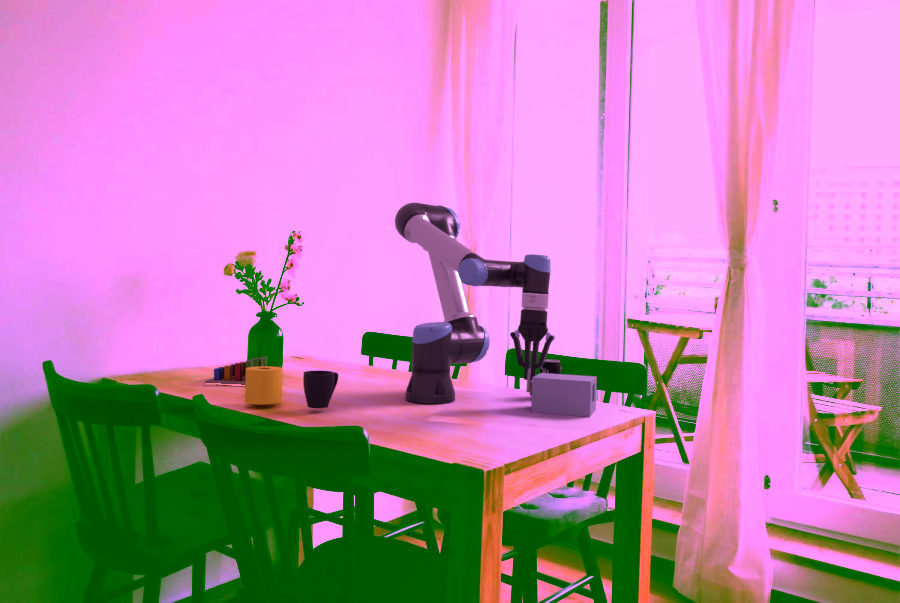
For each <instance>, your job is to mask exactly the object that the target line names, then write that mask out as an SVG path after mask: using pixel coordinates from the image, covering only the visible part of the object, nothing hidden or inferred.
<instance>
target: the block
mask: <svg viewBox="0 0 900 603" xmlns="http://www.w3.org/2000/svg"><path fill="white" fill-rule="evenodd" d="M597 379H598V378H597V376H596V375H595V376H594V375H593V376H592V375H578V374H577V375H576V374H564V373H563V374H562V373H561V374H550V373H540V372H539V373H538V374H536V376H534V377H532V396H531V405H530V406H531V410H530V412H532V413H540V414H554V415H564V416H573V417H574V416H575V417H576V416H577V417H585V418H586V417H588V418H590V417H591V416H592V415H593V414H594V412H595V411H596V410H597V381H598V380H597Z"/></svg>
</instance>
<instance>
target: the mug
mask: <svg viewBox="0 0 900 603" xmlns="http://www.w3.org/2000/svg"><path fill="white" fill-rule="evenodd" d="M338 381H339V373H338V372H337V371H336V372H335V371H330V370H307V371H303V391H304V396H305V397H304V398H305V401H306V404H307V407H308V408H310V409H327V408H328V407H329V405H330V401H331V399H332V397H333V395H334V392H335V389H336V387H337V385H338V384H337V383H338Z"/></svg>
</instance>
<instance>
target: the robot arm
mask: <svg viewBox="0 0 900 603" xmlns="http://www.w3.org/2000/svg"><path fill="white" fill-rule="evenodd" d="M394 225H395V229H396V231H397V233H398V234H399V235H400V237H402V238H403V239H405V240H406V241H407V242H409V243H411V244H417V245H419V246H420V247H421V248H422V249H423V250H424V251H425V252H428V256H429V257H428V258H429V261H430V265H431V269H432V273H433V278H434V281H435V285H436V290H437V293H438V294H437V295H438V297H439V298H438V299H439V301H440V306H441V309H442V315H443V319H444V320H443V321H436V322H435V321H434V322H425V323H420V324H418V325H416V326H415V327H414V328H413V329H412V330H413V331H412V339H411V342H412V352H411V353H412V355H411V357H412V358H411V374H410V378H409V381H408V384H407V386H406V390H405V397H404V398H405V400H406V401H408V402H412V403H417V404H418V403H419V404H448V403H453V402H455V401H456V391H455V388H454V384H453V380H452V377H451V364H452V365H455V364H471V363H476V362H479V361H481V360H482V359H484V358H485V356H486V355H487V352H488V350H489V349H490V334H489V332H488V331H487V329H486V328H485V327H484V326H482V325H479V322H478V319H477V316H476V315H474V314H473V313H472V312H471V310H470V306H469V305H470V304H469V303H468V299H467V295H466V290H465V285H467V286H472V287H500V288H520V289H522V291H521V305H520V307H522V309H521V310H520V320H519V325H518V327H517V329H516V330H515V331H512V332H510V334H509V335H510V337H511V339H512V340H513V345H514V350H515V354H516V361H517V365H518V366H520V367H522V368H523V369H524V370H523V371H524V372H523V380H524V381H526V393H530V392H529V389H530V383H531V382H532V377H534V376H536V375H537V369H540V367H542V366H543V364H544V361H545V359H546V358H547V356H548V353H549V350H550V347H551V344H552V342H553V341H555V339H556V336H555V335H554V334H552V333H551V332H549V329H548V325H547V324H548V310H547V309H548V308H549V293H550V292H549V288H550V278H551V258H550V257H549V256H548V255H544V254H526V255H524V259H523V261H506V260H495V259H486V258H483V257H482V256H480V255H478V254H477V253H475V252H474V251H473V250H471V249H470V248H469V247H467V246H465V245H464V244H463V243H461V242H459V241H458V239H457V237H458V236H459V234H460V231H459V230H460V228H461V222H460V219H459V217H458V215H457V213H456V212H455V210H453V209H452V208H449V207H447V206H445V205H434V204H426V203H420V202H409V203H406V204H404V205H403V206H401V207H400V208H399V209H398V210H397V212H396V215H395V218H394ZM520 336H521V337H522V338H523V340H524V355H523V350H522V345H521V340H520ZM544 337H545V342H544V345H543V347H542V351H541V353H540V356H539V348H540V342H541V341H542V340H543V339H544ZM531 351H532V352H531ZM538 358H539V359H538Z"/></svg>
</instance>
